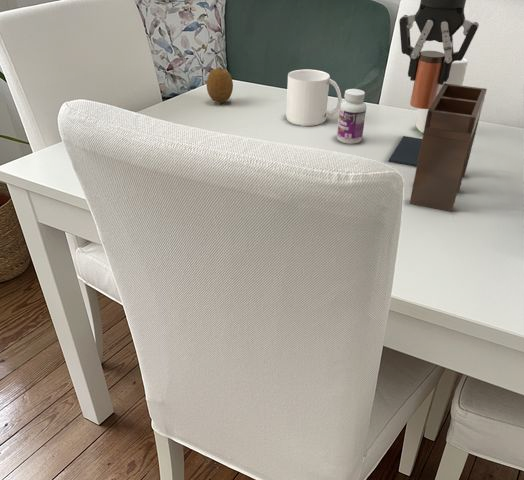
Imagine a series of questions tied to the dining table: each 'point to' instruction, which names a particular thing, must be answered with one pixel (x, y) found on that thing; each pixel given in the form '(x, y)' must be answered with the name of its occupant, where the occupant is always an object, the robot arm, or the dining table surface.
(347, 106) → the pill bottle
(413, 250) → the dining table surface
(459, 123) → the rack
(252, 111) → the dining table surface
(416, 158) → the mat
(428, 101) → the spice jar
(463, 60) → the cup
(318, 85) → the mug
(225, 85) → the fruit
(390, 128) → the dining table surface
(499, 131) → the dining table surface
